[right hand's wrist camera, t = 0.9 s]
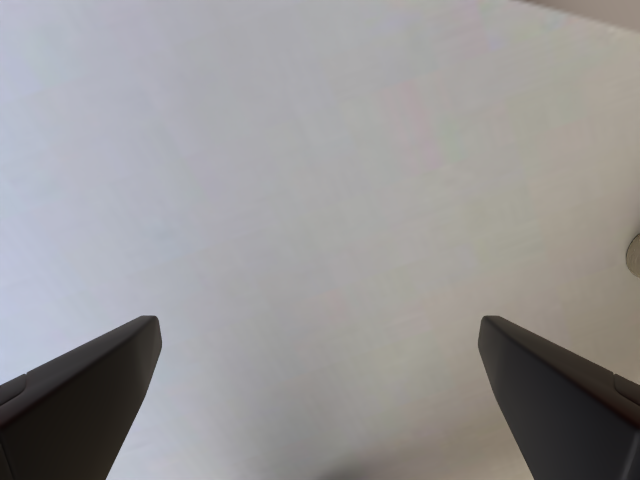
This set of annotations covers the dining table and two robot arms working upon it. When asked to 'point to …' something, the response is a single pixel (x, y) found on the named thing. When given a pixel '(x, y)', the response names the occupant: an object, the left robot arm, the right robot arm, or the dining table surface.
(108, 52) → the dining table surface
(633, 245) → the can
